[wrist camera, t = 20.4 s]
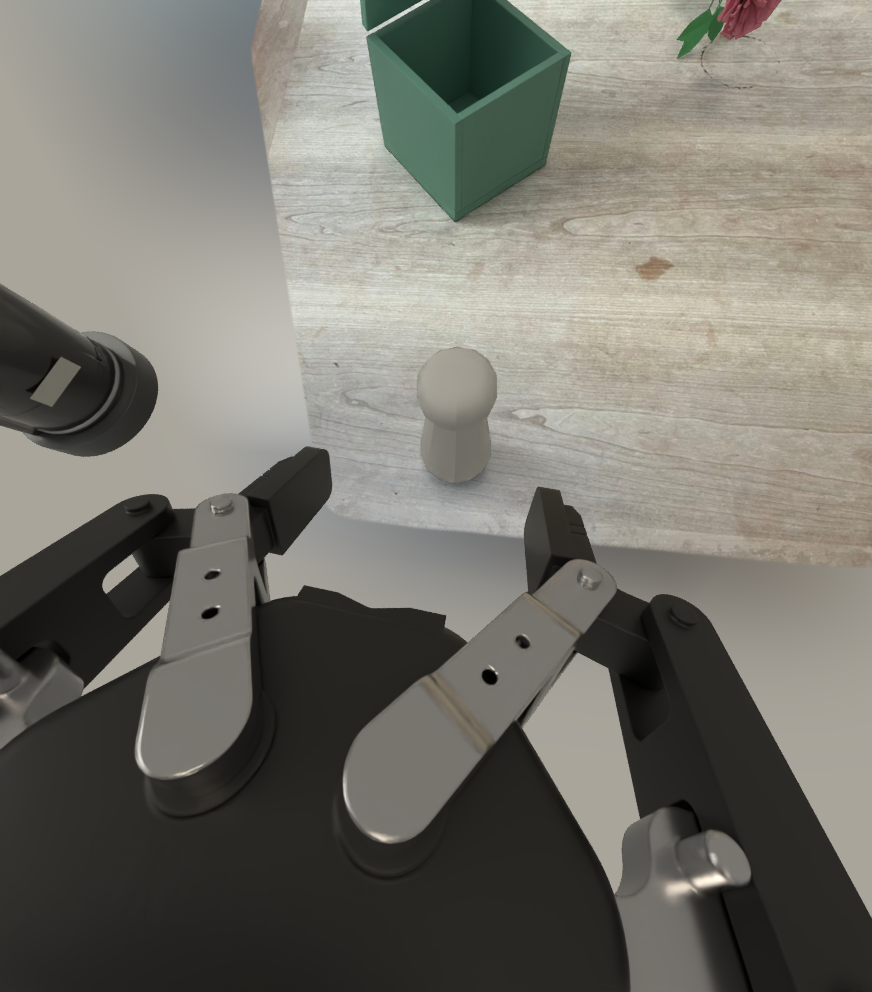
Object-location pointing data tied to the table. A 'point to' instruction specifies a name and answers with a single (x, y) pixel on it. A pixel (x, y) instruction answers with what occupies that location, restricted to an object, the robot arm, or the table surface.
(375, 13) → the chest lid
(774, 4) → the flower vase
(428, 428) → the salt shaker
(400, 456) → the table surface
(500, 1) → the storage chest
